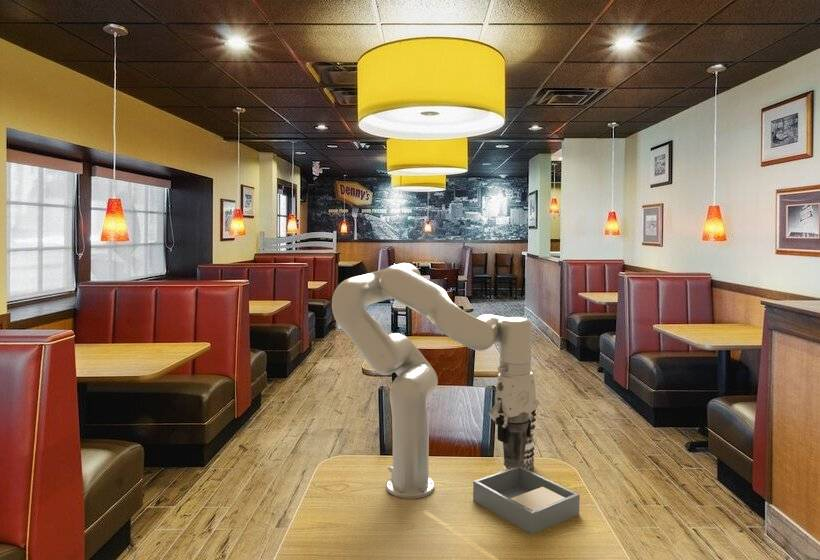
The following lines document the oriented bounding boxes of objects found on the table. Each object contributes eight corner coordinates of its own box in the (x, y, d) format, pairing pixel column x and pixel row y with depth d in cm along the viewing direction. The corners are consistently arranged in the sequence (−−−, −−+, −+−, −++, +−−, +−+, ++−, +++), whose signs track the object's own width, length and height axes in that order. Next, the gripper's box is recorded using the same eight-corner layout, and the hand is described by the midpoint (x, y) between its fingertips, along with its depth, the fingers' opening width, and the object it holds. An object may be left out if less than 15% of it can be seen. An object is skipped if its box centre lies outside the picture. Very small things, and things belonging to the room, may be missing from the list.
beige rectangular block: (510, 514, 144) (510, 498, 144) (542, 501, 150) (542, 486, 150) (535, 528, 137) (535, 512, 137) (567, 515, 144) (567, 499, 143)
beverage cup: (528, 459, 153) (530, 382, 151) (528, 471, 146) (530, 390, 143) (499, 457, 154) (500, 380, 152) (498, 468, 147) (499, 389, 145)
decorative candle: (525, 461, 177) (527, 378, 174) (541, 474, 168) (543, 387, 166) (497, 464, 175) (498, 380, 172) (511, 478, 166) (513, 390, 163)
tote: (473, 503, 151) (473, 481, 151) (518, 487, 160) (519, 465, 160) (531, 539, 135) (532, 513, 134) (578, 518, 144) (579, 494, 143)
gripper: (499, 377, 139) (498, 451, 141) (551, 365, 149) (549, 435, 151) (478, 370, 145) (477, 441, 147) (529, 359, 155) (527, 426, 157)
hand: (514, 437), depth 149 cm, fingers closed on beverage cup, 7 cm apart
